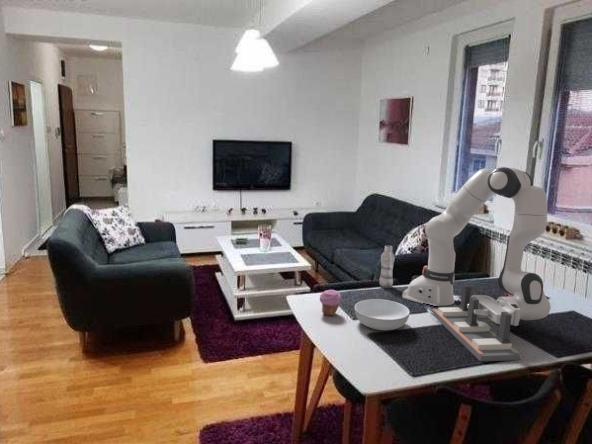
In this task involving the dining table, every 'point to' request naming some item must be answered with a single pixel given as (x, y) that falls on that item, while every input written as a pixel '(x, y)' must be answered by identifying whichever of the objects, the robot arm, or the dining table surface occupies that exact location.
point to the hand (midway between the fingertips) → (470, 309)
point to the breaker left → (465, 297)
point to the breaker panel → (475, 336)
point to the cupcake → (330, 302)
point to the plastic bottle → (387, 267)
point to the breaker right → (504, 328)
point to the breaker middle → (471, 316)
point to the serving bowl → (381, 314)
